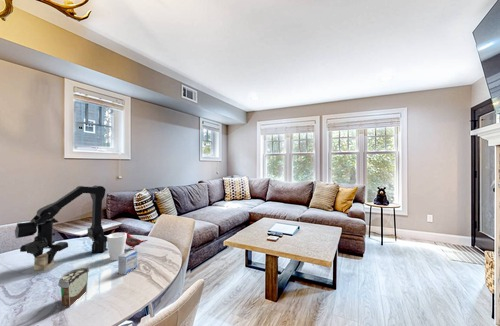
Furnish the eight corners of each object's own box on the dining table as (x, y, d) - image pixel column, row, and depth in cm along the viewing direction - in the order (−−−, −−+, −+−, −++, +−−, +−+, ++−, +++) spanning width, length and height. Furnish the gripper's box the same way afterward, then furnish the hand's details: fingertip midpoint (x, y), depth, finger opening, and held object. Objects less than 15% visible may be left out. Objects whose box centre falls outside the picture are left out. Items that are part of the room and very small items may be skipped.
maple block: (53, 264, 114) (54, 252, 114) (43, 269, 108) (44, 257, 108) (44, 264, 113) (44, 252, 113) (34, 270, 107) (34, 257, 107)
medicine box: (125, 275, 105) (126, 256, 105) (117, 274, 105) (118, 256, 105) (137, 267, 112) (137, 250, 112) (129, 266, 113) (130, 249, 113)
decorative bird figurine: (123, 247, 139) (123, 231, 139) (148, 249, 136) (149, 233, 136) (119, 249, 136) (120, 233, 136) (146, 251, 133) (146, 234, 133)
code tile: (65, 262, 117) (65, 261, 117) (46, 273, 105) (46, 272, 105) (41, 262, 116) (41, 262, 116) (20, 273, 104) (20, 273, 104)
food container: (73, 290, 91) (73, 266, 91) (88, 290, 91) (89, 266, 92) (48, 310, 79) (49, 282, 79) (66, 309, 79) (67, 282, 79)
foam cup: (102, 259, 120) (103, 236, 120) (118, 253, 129) (118, 231, 129) (114, 263, 117) (115, 238, 117) (129, 256, 125) (130, 233, 125)
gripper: (9, 238, 102) (8, 271, 102) (51, 237, 103) (50, 271, 103) (31, 231, 113) (30, 261, 113) (69, 230, 114) (68, 260, 114)
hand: (44, 263), depth 110 cm, fingers closed on maple block, 4 cm apart
